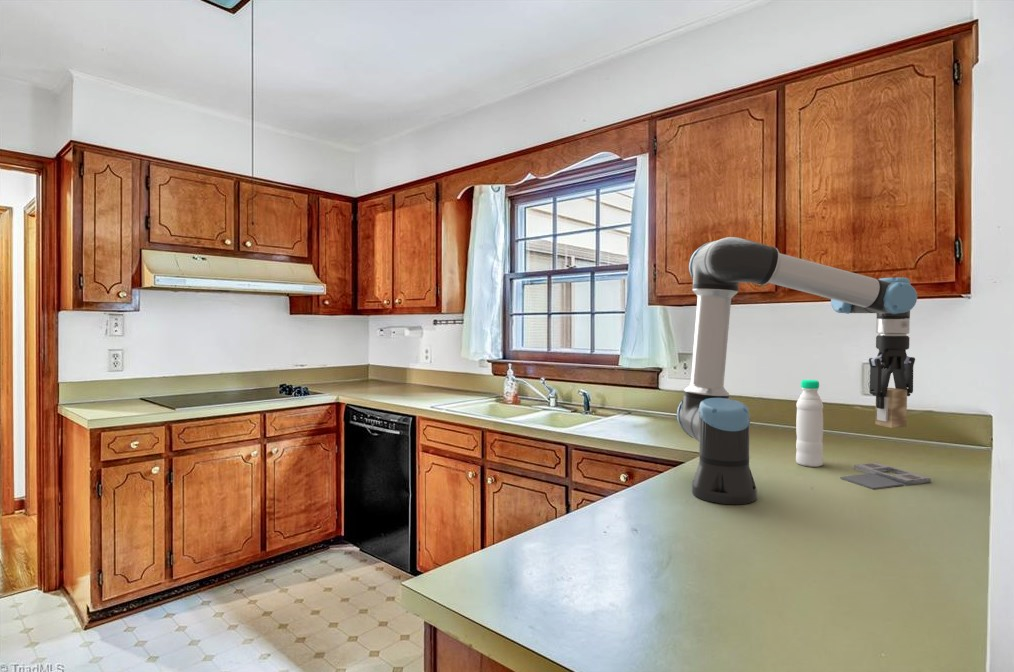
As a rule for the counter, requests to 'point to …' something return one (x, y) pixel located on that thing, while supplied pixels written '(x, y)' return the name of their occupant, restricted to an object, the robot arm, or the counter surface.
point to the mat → (871, 481)
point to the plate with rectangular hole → (902, 476)
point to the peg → (895, 409)
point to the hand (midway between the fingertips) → (890, 419)
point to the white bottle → (809, 425)
